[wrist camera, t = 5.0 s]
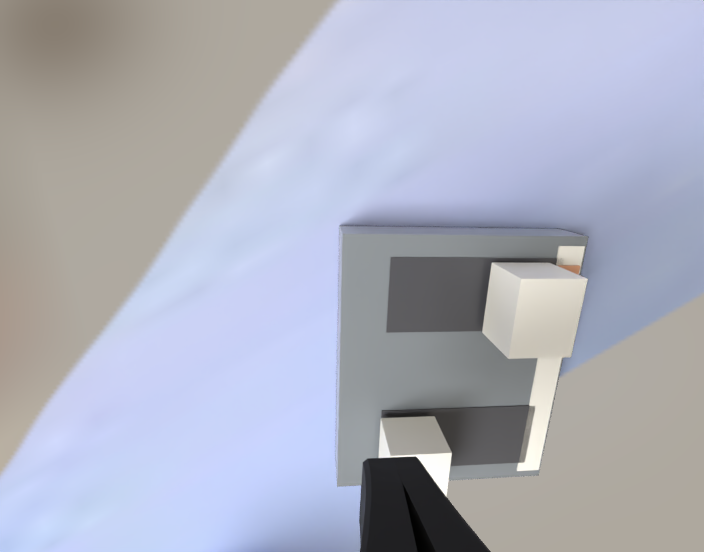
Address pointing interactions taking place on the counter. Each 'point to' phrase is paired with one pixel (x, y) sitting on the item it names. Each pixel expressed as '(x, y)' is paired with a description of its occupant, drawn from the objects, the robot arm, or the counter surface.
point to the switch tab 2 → (533, 309)
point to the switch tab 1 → (417, 444)
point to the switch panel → (440, 345)
